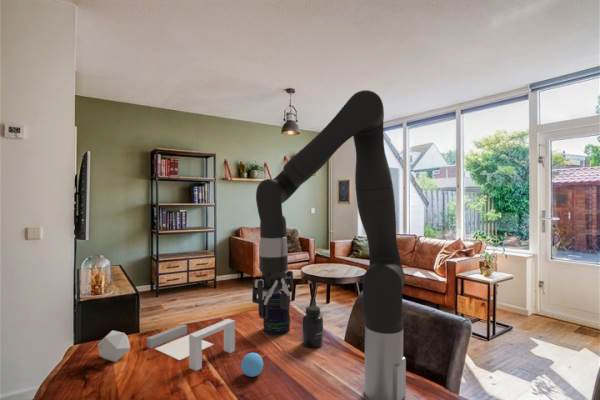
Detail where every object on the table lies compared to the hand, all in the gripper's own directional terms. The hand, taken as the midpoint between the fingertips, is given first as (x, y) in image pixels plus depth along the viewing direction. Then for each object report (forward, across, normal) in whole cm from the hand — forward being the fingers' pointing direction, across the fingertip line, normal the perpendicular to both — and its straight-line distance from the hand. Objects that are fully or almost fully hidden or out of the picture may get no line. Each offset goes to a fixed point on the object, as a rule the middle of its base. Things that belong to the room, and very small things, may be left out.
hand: (274, 313), depth 92 cm
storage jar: (+18, +25, +21) cm, 37 cm away
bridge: (+18, -3, +22) cm, 28 cm away
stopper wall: (+17, -3, +45) cm, 48 cm away
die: (+17, -20, +47) cm, 54 cm away
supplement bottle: (+18, +24, +4) cm, 30 cm away
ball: (+15, -2, +6) cm, 16 cm away
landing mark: (+17, -3, +36) cm, 40 cm away
